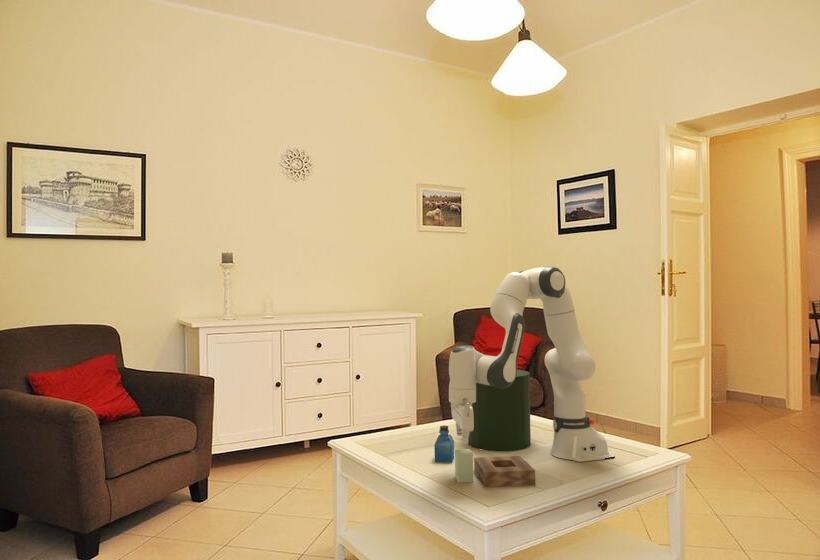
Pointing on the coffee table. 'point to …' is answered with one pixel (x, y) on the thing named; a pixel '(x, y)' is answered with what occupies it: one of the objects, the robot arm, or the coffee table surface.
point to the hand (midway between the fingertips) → (462, 439)
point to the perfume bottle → (444, 446)
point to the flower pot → (502, 416)
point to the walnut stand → (504, 471)
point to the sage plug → (464, 465)
